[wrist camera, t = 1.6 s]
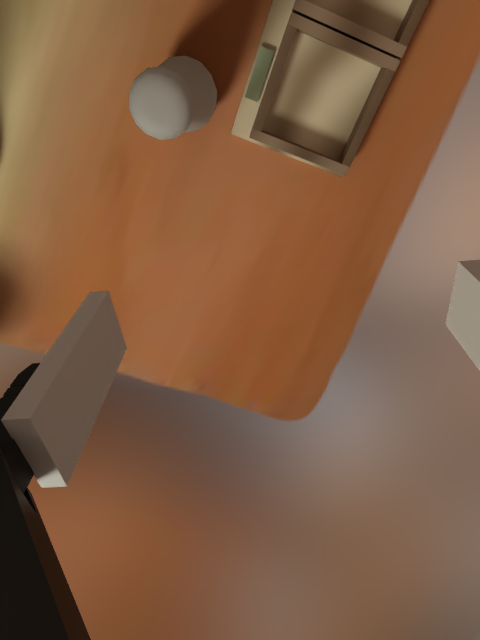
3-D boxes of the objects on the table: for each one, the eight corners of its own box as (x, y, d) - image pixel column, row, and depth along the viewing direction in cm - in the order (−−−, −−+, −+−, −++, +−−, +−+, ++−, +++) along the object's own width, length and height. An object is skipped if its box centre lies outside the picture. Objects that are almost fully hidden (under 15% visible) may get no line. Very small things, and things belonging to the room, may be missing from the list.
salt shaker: (156, 51, 35) (111, 43, 24) (222, 61, 35) (206, 57, 24) (155, 124, 38) (115, 147, 27) (215, 133, 38) (199, 159, 27)
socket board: (231, 132, 38) (229, 136, 36) (326, -170, 28) (331, -189, 26) (339, 175, 40) (343, 181, 38) (467, -95, 30) (482, -107, 28)
